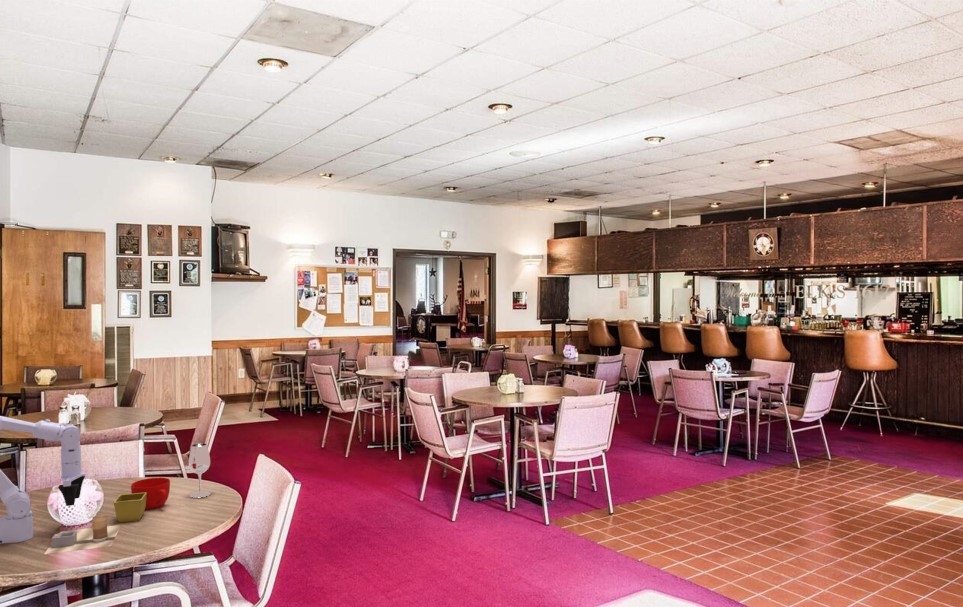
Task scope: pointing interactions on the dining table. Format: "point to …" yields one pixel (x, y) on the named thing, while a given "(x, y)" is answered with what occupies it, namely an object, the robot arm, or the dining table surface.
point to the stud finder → (64, 539)
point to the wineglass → (199, 464)
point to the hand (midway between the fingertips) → (73, 501)
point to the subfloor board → (86, 540)
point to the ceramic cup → (153, 491)
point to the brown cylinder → (99, 528)
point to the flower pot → (130, 506)
